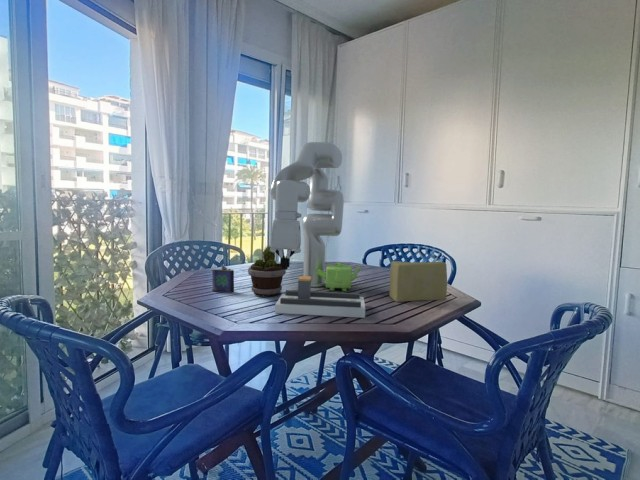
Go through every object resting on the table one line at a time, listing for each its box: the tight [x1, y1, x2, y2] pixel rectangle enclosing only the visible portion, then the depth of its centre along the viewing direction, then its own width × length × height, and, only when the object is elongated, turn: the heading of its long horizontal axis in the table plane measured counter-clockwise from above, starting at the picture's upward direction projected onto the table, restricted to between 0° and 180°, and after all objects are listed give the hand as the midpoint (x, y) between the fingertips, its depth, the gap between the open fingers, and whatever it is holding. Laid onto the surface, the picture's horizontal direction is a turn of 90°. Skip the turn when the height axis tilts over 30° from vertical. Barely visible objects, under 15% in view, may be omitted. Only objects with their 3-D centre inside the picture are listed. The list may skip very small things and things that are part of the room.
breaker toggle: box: [297, 275, 312, 299], centre depth 135 cm, size 5×4×8 cm
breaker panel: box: [274, 289, 366, 319], centre depth 135 cm, size 15×30×5 cm, turn 86°
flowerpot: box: [247, 244, 287, 298], centre depth 153 cm, size 14×15×20 cm
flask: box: [211, 264, 235, 293], centre depth 155 cm, size 9×3×11 cm, turn 79°
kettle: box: [316, 262, 364, 292], centre depth 165 cm, size 15×14×11 cm
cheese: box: [389, 260, 448, 303], centre depth 152 cm, size 22×10×15 cm, turn 97°
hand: (284, 269), depth 134 cm, fingers closed
